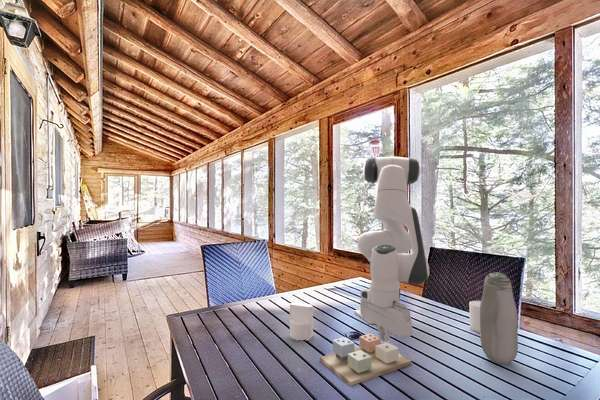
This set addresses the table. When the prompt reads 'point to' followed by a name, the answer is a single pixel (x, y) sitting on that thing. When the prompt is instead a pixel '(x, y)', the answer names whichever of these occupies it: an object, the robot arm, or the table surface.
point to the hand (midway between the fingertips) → (384, 340)
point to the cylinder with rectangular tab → (301, 321)
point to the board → (352, 377)
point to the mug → (475, 315)
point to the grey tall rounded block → (498, 319)
